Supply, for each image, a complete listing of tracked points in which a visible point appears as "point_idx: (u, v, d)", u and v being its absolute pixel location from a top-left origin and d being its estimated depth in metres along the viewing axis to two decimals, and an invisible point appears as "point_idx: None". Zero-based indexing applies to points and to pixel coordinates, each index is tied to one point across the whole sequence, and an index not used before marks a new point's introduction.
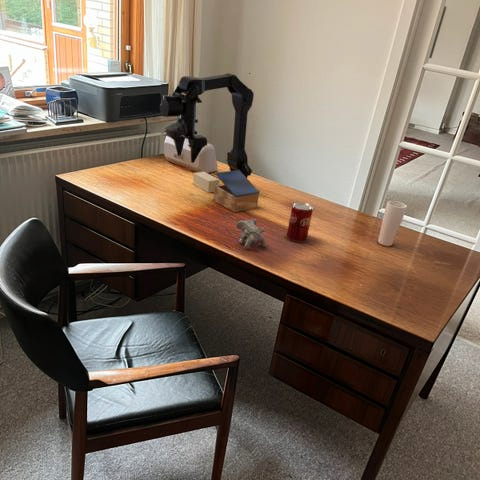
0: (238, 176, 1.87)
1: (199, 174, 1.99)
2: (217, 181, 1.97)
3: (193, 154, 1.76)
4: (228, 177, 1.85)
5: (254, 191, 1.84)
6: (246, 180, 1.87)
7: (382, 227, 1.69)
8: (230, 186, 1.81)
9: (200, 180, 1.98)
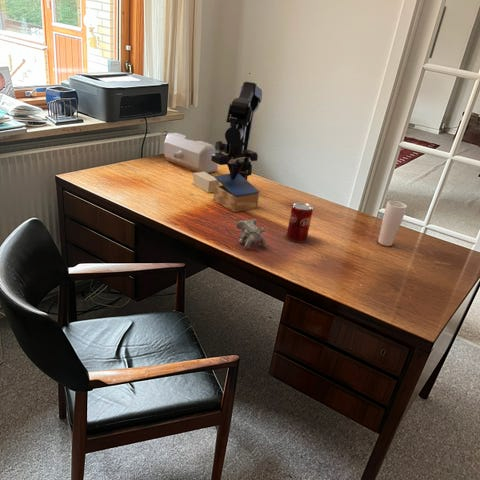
0: (237, 178, 1.88)
1: (199, 174, 1.99)
2: (217, 181, 1.97)
3: (229, 170, 1.84)
4: (227, 179, 1.85)
5: (254, 191, 1.84)
6: (245, 181, 1.88)
7: (382, 227, 1.69)
8: (230, 187, 1.81)
9: (200, 180, 1.98)
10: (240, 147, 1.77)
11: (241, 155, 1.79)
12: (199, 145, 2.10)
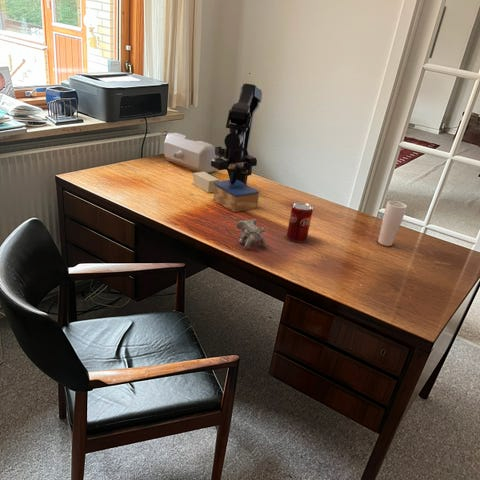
0: (236, 183, 1.89)
1: (199, 174, 1.99)
2: (217, 181, 1.97)
3: (229, 175, 1.85)
4: (226, 184, 1.87)
5: (254, 191, 1.84)
6: (245, 185, 1.89)
7: (382, 227, 1.69)
8: (229, 190, 1.82)
9: (200, 180, 1.98)
10: (239, 152, 1.78)
11: (240, 160, 1.80)
12: (199, 145, 2.10)
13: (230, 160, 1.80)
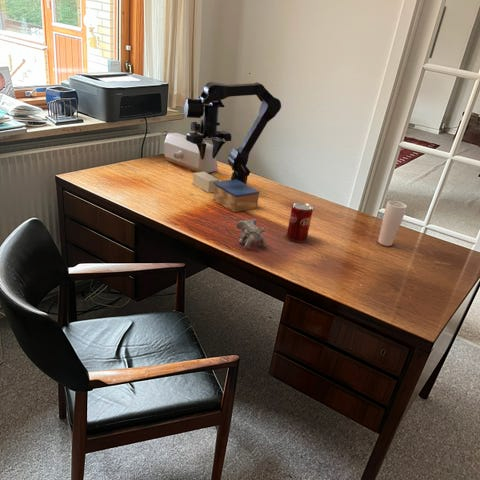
0: (236, 183, 1.89)
1: (199, 174, 1.99)
2: (217, 181, 1.97)
3: (199, 150, 1.91)
4: (226, 184, 1.87)
5: (254, 191, 1.84)
6: (245, 185, 1.89)
7: (382, 227, 1.69)
8: (229, 190, 1.82)
9: (200, 180, 1.98)
10: (213, 127, 1.85)
11: (215, 135, 1.88)
12: None
13: (205, 135, 1.87)
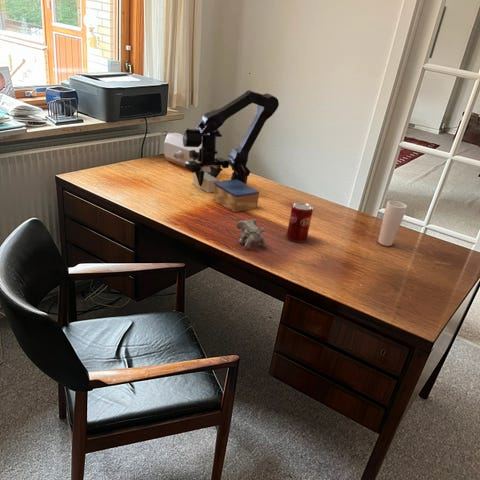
0: (236, 183, 1.89)
1: None
2: (217, 181, 1.97)
3: (197, 177, 1.97)
4: (226, 184, 1.87)
5: (254, 191, 1.84)
6: (245, 185, 1.89)
7: (382, 227, 1.69)
8: (229, 190, 1.82)
9: None
10: (211, 155, 1.92)
11: (213, 163, 1.94)
12: None
13: (203, 163, 1.93)
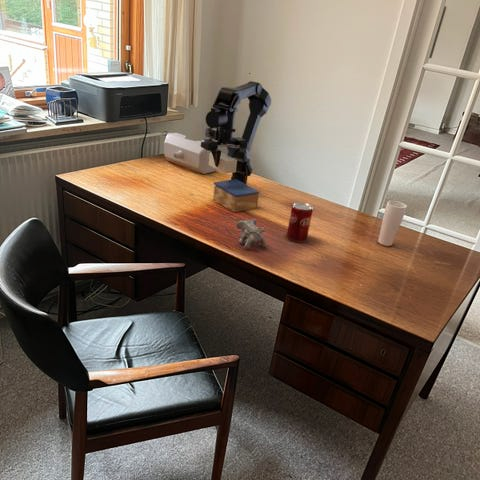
0: (236, 183, 1.89)
1: None
2: (234, 161, 1.84)
3: (213, 157, 1.85)
4: (226, 184, 1.87)
5: (254, 191, 1.84)
6: (245, 185, 1.89)
7: (382, 227, 1.69)
8: (229, 190, 1.82)
9: None
10: (229, 133, 1.79)
11: (230, 142, 1.82)
12: (199, 145, 2.10)
13: (220, 141, 1.81)
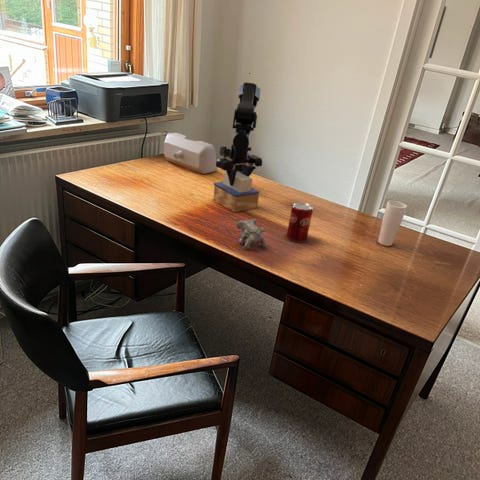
0: None
1: None
2: (250, 180, 1.81)
3: (228, 176, 1.81)
4: None
5: (254, 191, 1.84)
6: None
7: (382, 227, 1.69)
8: (229, 190, 1.82)
9: None
10: (245, 152, 1.76)
11: (246, 160, 1.78)
12: (199, 145, 2.10)
13: (235, 160, 1.78)
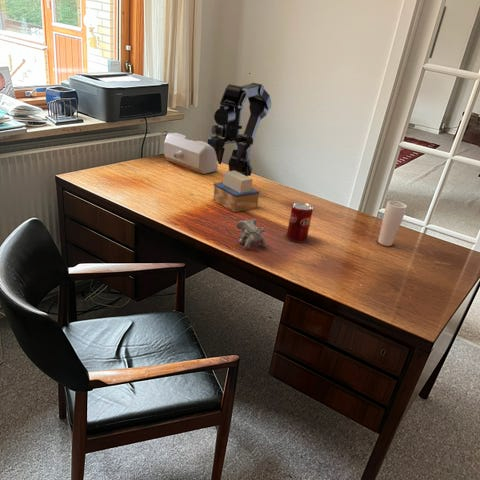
0: None
1: (229, 173, 1.84)
2: (250, 181, 1.81)
3: (217, 155, 1.85)
4: None
5: (254, 191, 1.84)
6: None
7: (382, 227, 1.69)
8: (229, 190, 1.82)
9: (231, 180, 1.83)
10: (236, 130, 1.81)
11: (237, 138, 1.83)
12: (199, 145, 2.10)
13: (226, 138, 1.82)
